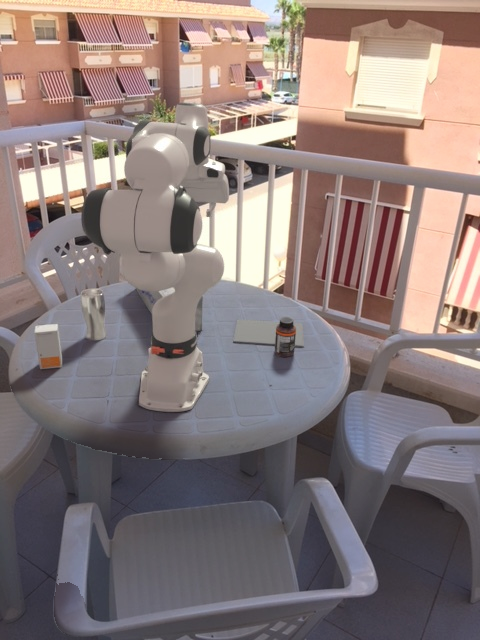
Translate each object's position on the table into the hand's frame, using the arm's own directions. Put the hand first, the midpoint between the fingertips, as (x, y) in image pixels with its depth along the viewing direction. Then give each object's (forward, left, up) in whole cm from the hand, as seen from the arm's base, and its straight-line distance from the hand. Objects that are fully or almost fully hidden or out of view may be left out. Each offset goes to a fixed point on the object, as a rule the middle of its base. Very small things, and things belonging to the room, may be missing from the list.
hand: (192, 215), depth 146 cm
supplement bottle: (-5, -29, -40) cm, 49 cm away
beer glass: (-3, +30, -40) cm, 50 cm away
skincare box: (-21, +37, -40) cm, 58 cm away
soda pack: (+20, +13, -40) cm, 46 cm away
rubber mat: (+6, -24, -40) cm, 47 cm away
